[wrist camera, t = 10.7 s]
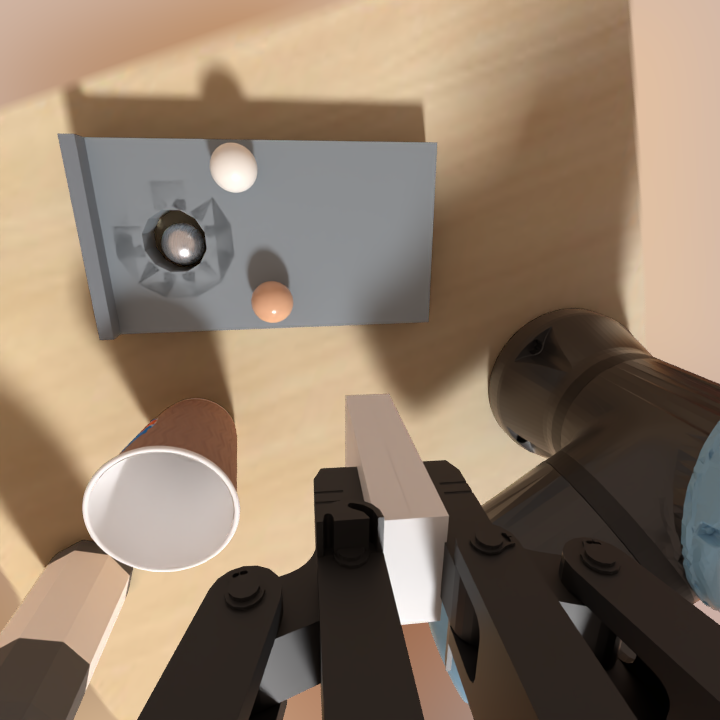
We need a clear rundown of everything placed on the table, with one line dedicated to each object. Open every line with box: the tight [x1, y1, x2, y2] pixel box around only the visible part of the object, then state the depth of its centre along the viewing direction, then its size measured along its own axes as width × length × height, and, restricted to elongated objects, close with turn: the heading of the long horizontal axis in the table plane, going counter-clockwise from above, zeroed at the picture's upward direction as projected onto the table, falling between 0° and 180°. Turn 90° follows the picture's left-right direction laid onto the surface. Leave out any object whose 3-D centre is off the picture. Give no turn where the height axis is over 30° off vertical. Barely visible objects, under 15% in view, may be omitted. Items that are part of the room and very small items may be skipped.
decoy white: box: [210, 143, 257, 193], centre depth 31 cm, size 3×3×3 cm
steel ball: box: [161, 223, 205, 265], centre depth 35 cm, size 3×3×3 cm
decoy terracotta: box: [251, 281, 293, 323], centre depth 34 cm, size 3×3×3 cm
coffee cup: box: [82, 398, 240, 572], centre depth 36 cm, size 10×10×12 cm
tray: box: [58, 134, 437, 340], centre depth 35 cm, size 26×14×4 cm, turn 90°
